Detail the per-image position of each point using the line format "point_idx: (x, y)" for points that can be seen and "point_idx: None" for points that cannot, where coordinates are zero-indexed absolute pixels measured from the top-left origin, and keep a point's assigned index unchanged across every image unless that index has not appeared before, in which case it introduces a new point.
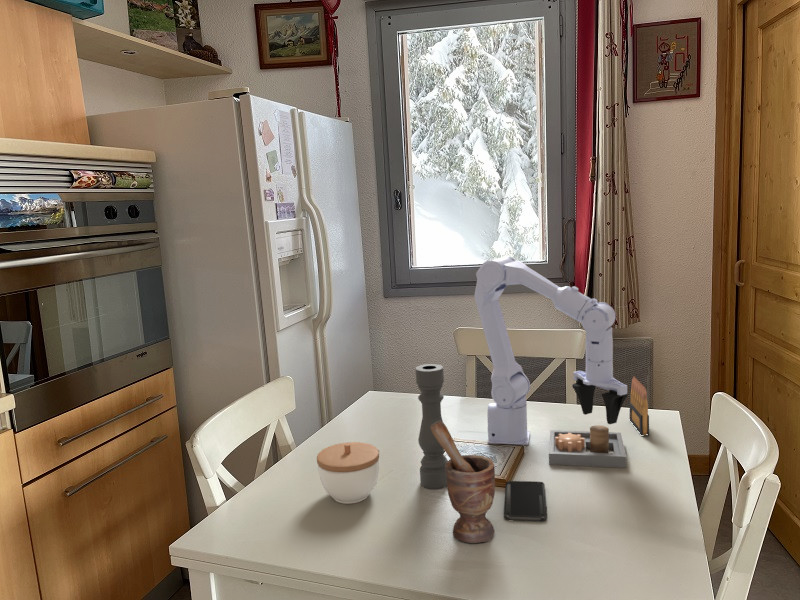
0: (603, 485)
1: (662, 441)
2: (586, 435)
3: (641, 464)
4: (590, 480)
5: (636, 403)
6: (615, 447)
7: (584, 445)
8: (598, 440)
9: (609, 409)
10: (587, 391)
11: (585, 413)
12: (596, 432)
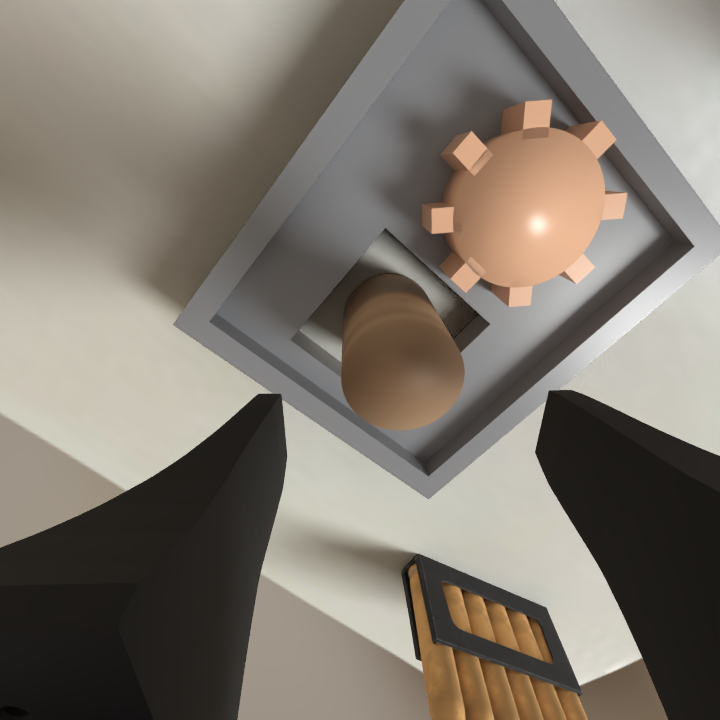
0: (44, 34)
1: (338, 572)
2: (533, 373)
3: (199, 384)
4: (133, 14)
5: (521, 700)
6: None
7: (442, 269)
8: (359, 314)
9: (169, 467)
10: (695, 605)
11: (552, 399)
12: (372, 325)
